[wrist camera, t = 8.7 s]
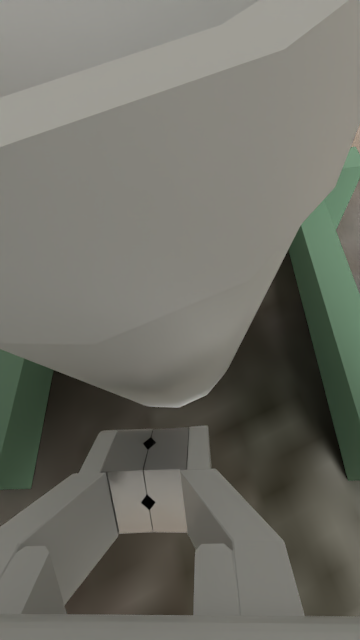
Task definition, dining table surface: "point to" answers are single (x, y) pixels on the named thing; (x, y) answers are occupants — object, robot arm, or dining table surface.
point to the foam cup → (161, 176)
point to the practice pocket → (322, 318)
